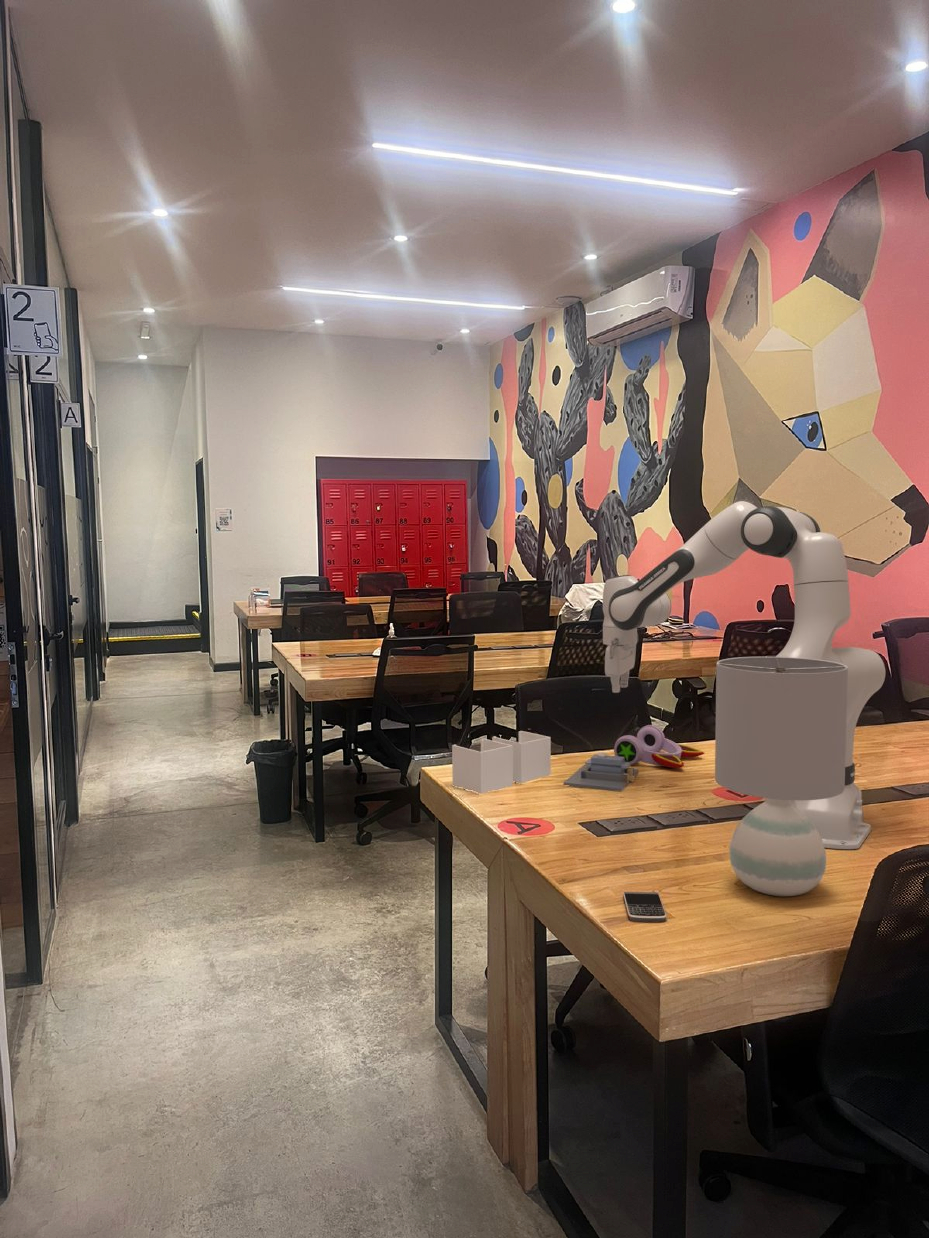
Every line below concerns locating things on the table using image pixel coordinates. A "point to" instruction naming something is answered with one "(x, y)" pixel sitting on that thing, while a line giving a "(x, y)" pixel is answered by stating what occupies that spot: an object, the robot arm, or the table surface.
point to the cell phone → (644, 906)
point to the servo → (609, 764)
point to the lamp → (780, 762)
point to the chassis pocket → (600, 779)
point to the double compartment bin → (501, 762)
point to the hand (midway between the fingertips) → (620, 689)
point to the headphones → (653, 748)
